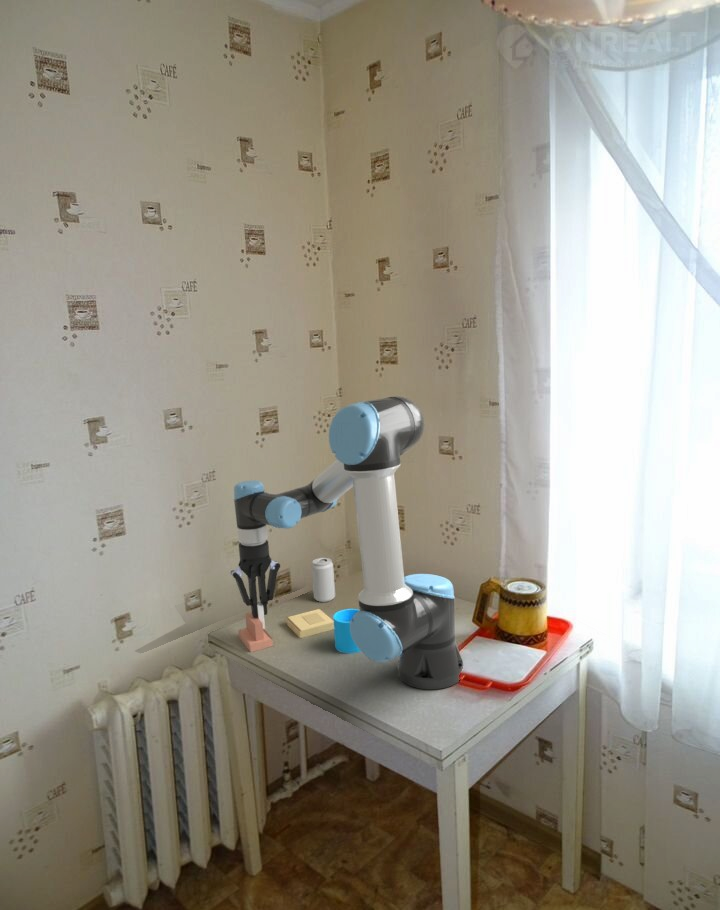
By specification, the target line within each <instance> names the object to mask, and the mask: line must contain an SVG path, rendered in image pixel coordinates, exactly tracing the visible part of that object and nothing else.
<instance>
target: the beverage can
mask: <svg viewBox="0 0 720 910" xmlns="http://www.w3.org/2000/svg"><path fill="white" fill-rule="evenodd" d="M311 577H312V588H313V589H312V590H313V599H315V600H316V602H318V601H319V603H327V602H331V601H332V600H333V599H335V597H336V588H335V587H336V586H335V575H334V563H333V561H332V559H331V558H328V557H319V558H318V557H317V558H315V559H314V560H312V564H311Z"/></svg>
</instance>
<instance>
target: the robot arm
mask: <svg viewBox="0 0 720 910" xmlns="http://www.w3.org/2000/svg"><path fill="white" fill-rule="evenodd" d="M424 431H425V418H424V415H423V412H422V411H421V409H420V407H418V405H417V404H416V403H415V402H414V401H412V400H410V399H408V398H406V397H404V396H395V395H394V396H388V397H383V398H377V399H371V400H366V401H360V402H355V403H352V404H349V405H346V406H344V407H342V408H340V409H339V410H338V411H337V412H336V413H335V415H334V416H333V418H332V420H331V422H330V425H329V429H328V443H329V448H330V450H331V452H332V453H333V454H335V455H334V458H335V459H336V460H335V461H333V463H331V464H330V465H328V467H327V468H326V469H324V470H323V471H322V472H321V473H320V474H318V475H317V476H316V477H315V478H314V479H313V480H312V481H310V482H309V483H308V484H306V485H305V486H301V487H298V488H295V489H291V490H287V491H284V492H281V493H275V494H274V493H269V492H265V487H264V483H262V481H260V480H256V479H255V480H252V479H251V480H244V481H243V480H242V481H241V482H237V483H236V484H235V485H234V488H233V501H234V511H235V520H236V521H235V522H236V529H237V540H238V542H239V544H238V552H239V562H238V567H237V568H235V570H231V571H230V575H231V576H232V577H233V578H234V580H235V581H236V584H237V588H238V590H239V594H240V596H241V598H242V601H243V603H244V604H245V605H246V606H247V607H249V606H250V609H251V612H252V615H253V617H254V618H256V617H258V618H259V620H260V621H261V622H262V624H263V629H265V630H266V623H265V616H268V615H267V614H268V604H269V601H273V600H274V597H275V596H274V595H275V590H276V582H277V575H278V572H279V570H280V568H281V564H280V563H279V562H277V560H272V558H271V556H270V548H269V546H270V544H269V541H268V538H269V535H268V526H271V527H273V528H278V529H285V530H286V529H287V530H289V529H292V528H294V527H296V525H297V524H298V523H299V522H300V520H301V519H303V518H307V517H310V516H312V515H316V514H319V513H325V512H327V511H328V510H330V509H332V508H335V506H336V505H337V503H338V500H339V498H341V497H342V496H343V495H345V494H346V493H347V492H348V491H349V490H351V489H352V488H353V496H354V504H355V511H356V512H355V513H356V522H357V532H358V533H357V534H358V542H359V550H360V558H361V568H362V578H363V587H364V588H363V589H362V590H361V591H360V592H359V593H358V596H357V599H358V610H359V612H356V613H355V614H354V616H353V618H352V619H351V621H350V632H351V636H352V638H353V641H354V643H355V644H356V646H357V647H358V649H360V650H361V651H360V652H361V654H362V655H364V656H365V657H366V658H368V659H369V660H371V661H374V662H376V663H387V662H390V661H391V660H393V659H397V658H398V657H399V659H398V662H397V675H398V677H399V679H400V680H401V681H402V682H403V683H404V684H406V685H408V686H410V687H413V688H417V689H422V690H442V689H445V688H449V687H452V686H455V685H456V684H457V683H459V682H460V681H459V675H460V673H461V671H462V669H463V666H464V661H463V658H462V656H461V654H460V650H459V648H458V645H457V642H456V627H455V626H456V625H455V622H456V621H455V619H456V618H455V599H456V597H455V595H454V594H455V591H454V585H453V583H452V582H451V581H450V579H448V578H446V577H444V576H440V575H436V574H430V573H415V574H414V573H413V574H409V575H406V576H405V573H404V561H403V551H402V541H401V532H400V531H401V528H400V521H399V511H398V500H397V490H396V481H395V473H396V471H397V470H398V469H399V468H400V466H401V465H402V464H401V463H402V462H401V455H404V454H405V453H406V452H407V451H409V449H411V448H413V447H414V446H415V445H417V444H418V442H419V441H420V440H421V438H422V436H423V434H424ZM268 569H269V573H268V578H267V583H266V573H267V571H268ZM242 573H244V574H245V575H246V576H247V581H248V592H247V589H246V587H245V583H244V581H243V578H242V576H243V574H242ZM256 581H257V583H256ZM257 584H258V593H257ZM248 593H249V595H248ZM257 594H258V595H259V601H258V595H257Z"/></svg>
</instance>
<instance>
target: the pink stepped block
mask: <svg viewBox="0 0 720 910" xmlns="http://www.w3.org/2000/svg"><path fill="white" fill-rule="evenodd" d="M244 615H245V617H244V618H245V626H246V627H244V628H241V629H238V638H239V639H240V640H241V641H242V643H243V644H244V646H245V647H246V648H247V649H248V651H249V652H250V653H252V652H256V651H260V650H263V649H267V648H270V647H273V646H274V641H273V640H274V639H273V637H272V636H271V634H269V633H268V631H267V630H266V628H265V629H263V624H262V622H261V621H260V620H259V618H258V617H256V618H254V617H253V615H252V611H249V612H247V613H246V612H245V613H244Z"/></svg>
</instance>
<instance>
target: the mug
mask: <svg viewBox="0 0 720 910" xmlns="http://www.w3.org/2000/svg"><path fill="white" fill-rule="evenodd" d="M356 612H359V608H357V609H356V608H347V609H341V610H338V611H336V613H334V614H333V619H332V620H333V621H334V629H333V631H334V647H335V649H336V650H337V651H338V652H340V653H342V654H355V653H359V652H361V650H360V649H358V647H357V646H356V644H355V643H354V641H353V638H352V636H351V632H350V621H351V619H352V618H353V616H354V614H355V613H356Z"/></svg>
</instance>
